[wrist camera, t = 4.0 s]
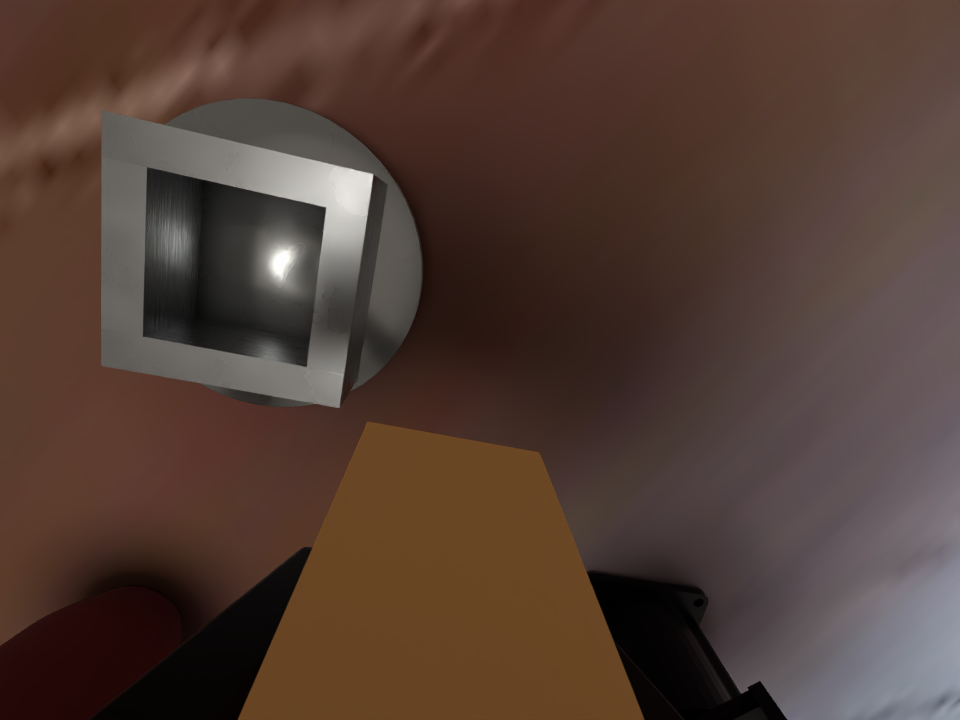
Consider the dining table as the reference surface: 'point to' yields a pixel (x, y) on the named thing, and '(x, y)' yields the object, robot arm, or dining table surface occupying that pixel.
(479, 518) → the orange-brown rectangular block
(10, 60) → the dining table surface
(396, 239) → the silver square frame
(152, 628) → the mug
